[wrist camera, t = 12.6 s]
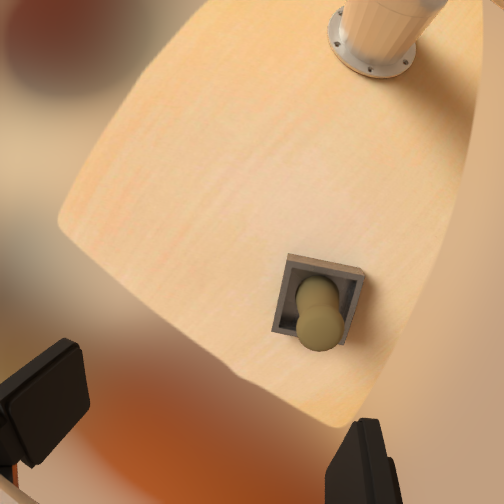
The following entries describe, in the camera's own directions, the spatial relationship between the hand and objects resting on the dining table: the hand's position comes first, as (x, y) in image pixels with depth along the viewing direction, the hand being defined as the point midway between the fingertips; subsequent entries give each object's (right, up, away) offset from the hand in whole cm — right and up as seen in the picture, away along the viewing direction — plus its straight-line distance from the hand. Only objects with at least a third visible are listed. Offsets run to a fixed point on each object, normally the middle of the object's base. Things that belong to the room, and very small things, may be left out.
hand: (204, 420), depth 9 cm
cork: (+10, -1, +32) cm, 34 cm away
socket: (+10, -1, +33) cm, 35 cm away
